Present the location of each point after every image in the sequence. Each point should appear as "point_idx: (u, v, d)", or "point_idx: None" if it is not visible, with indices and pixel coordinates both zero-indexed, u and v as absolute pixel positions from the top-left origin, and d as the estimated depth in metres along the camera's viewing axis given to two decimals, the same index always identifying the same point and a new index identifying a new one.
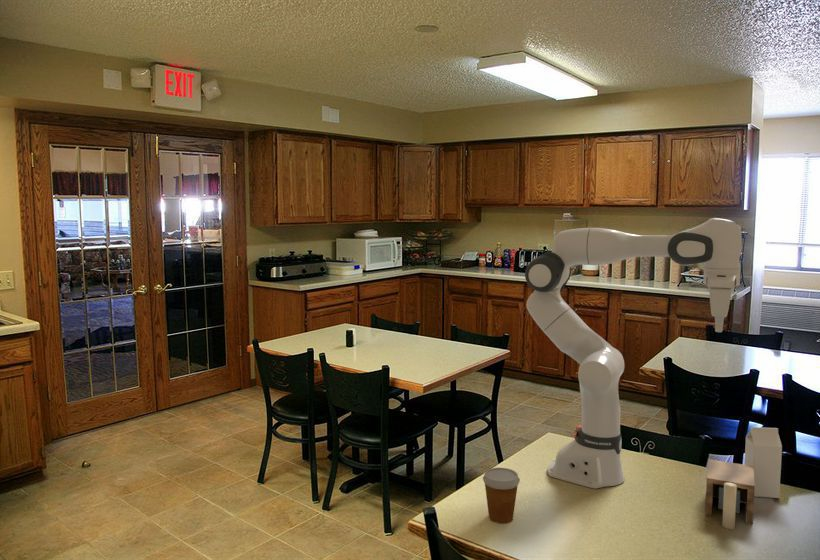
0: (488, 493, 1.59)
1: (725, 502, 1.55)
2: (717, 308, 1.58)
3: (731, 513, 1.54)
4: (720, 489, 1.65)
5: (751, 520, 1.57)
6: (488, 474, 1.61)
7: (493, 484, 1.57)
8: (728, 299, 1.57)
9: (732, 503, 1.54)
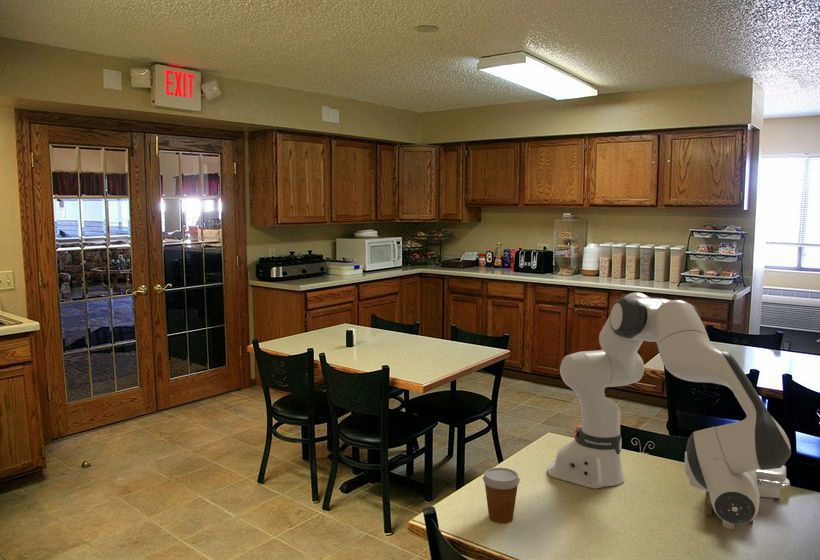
0: (488, 493, 1.59)
1: None
2: None
3: None
4: None
5: (751, 520, 1.57)
6: (488, 474, 1.61)
7: (493, 484, 1.57)
8: None
9: None
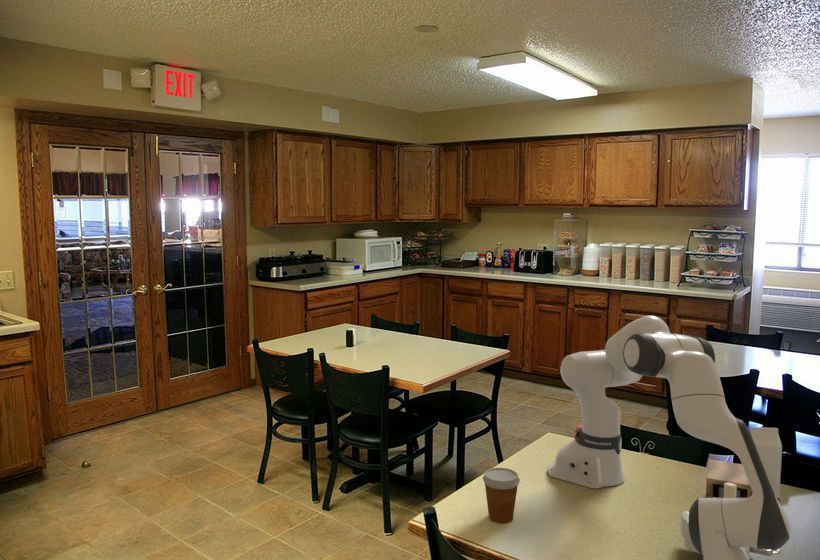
0: (488, 493, 1.59)
1: None
2: None
3: None
4: (720, 489, 1.65)
5: None
6: (488, 474, 1.61)
7: (493, 484, 1.57)
8: (681, 533, 1.46)
9: None
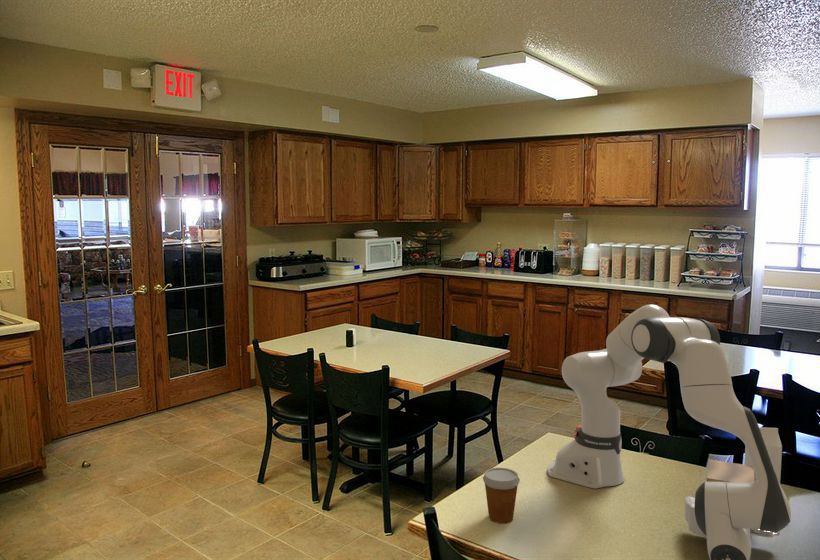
0: (488, 493, 1.59)
1: None
2: None
3: None
4: None
5: None
6: (488, 474, 1.61)
7: (493, 484, 1.57)
8: (685, 517, 1.53)
9: None
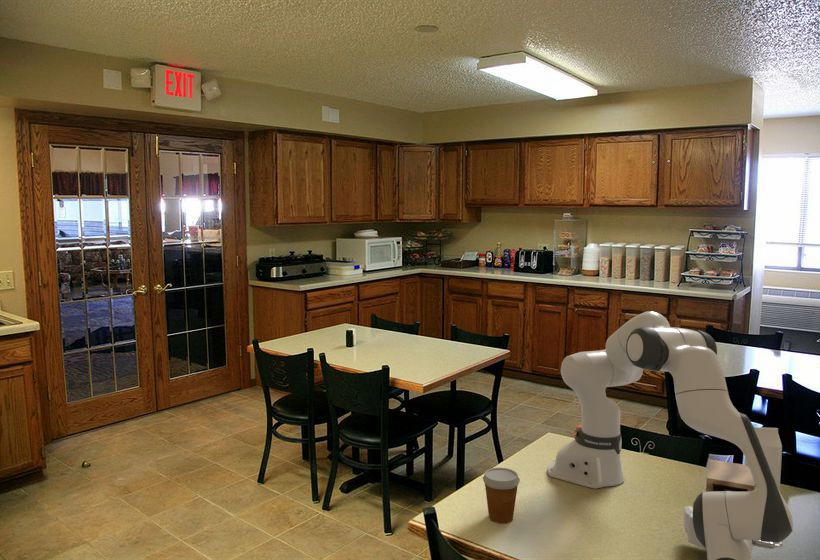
0: (488, 493, 1.59)
1: None
2: None
3: None
4: None
5: None
6: (488, 474, 1.61)
7: (493, 484, 1.57)
8: (684, 527, 1.47)
9: None
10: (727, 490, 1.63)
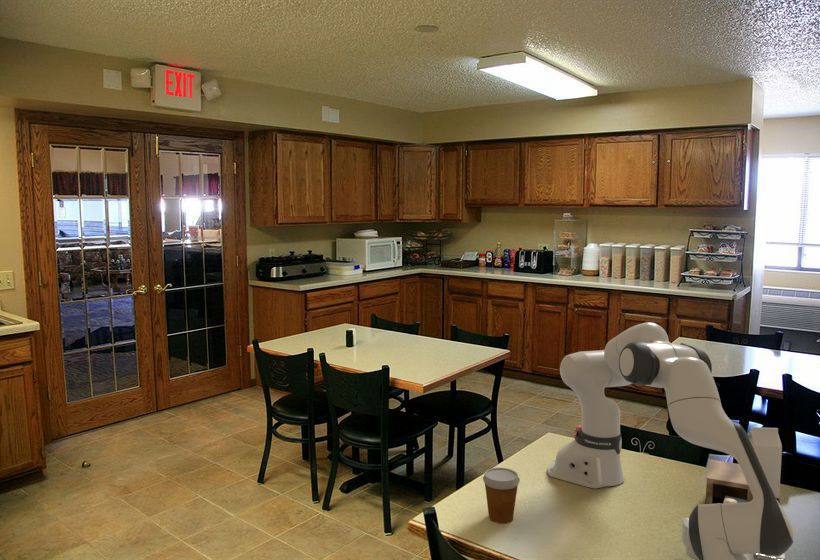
0: (488, 493, 1.59)
1: None
2: (682, 525, 1.43)
3: None
4: None
5: None
6: (488, 474, 1.61)
7: (493, 484, 1.57)
8: (683, 540, 1.41)
9: None
10: (727, 497, 1.59)
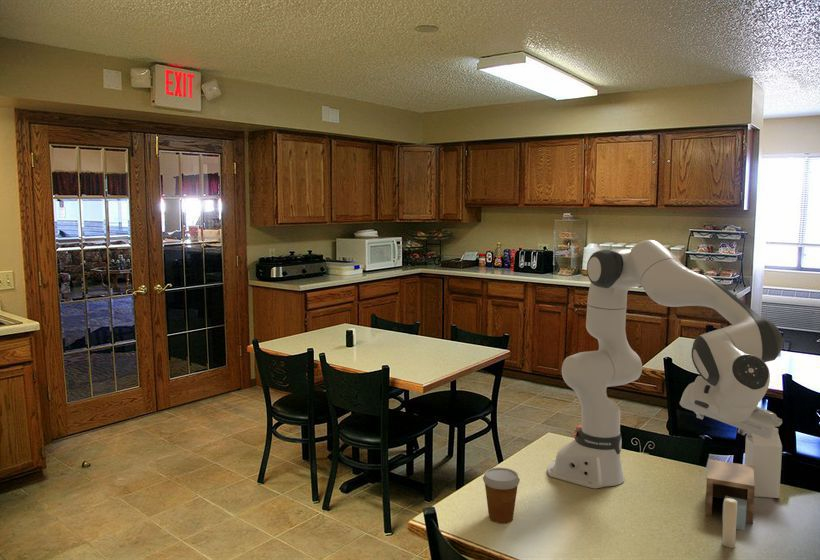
0: (488, 493, 1.59)
1: (724, 519, 1.47)
2: (683, 394, 1.48)
3: (731, 531, 1.46)
4: (724, 505, 1.56)
5: (751, 520, 1.57)
6: (488, 474, 1.61)
7: (493, 484, 1.57)
8: (683, 399, 1.45)
9: (732, 520, 1.46)
10: (727, 497, 1.59)
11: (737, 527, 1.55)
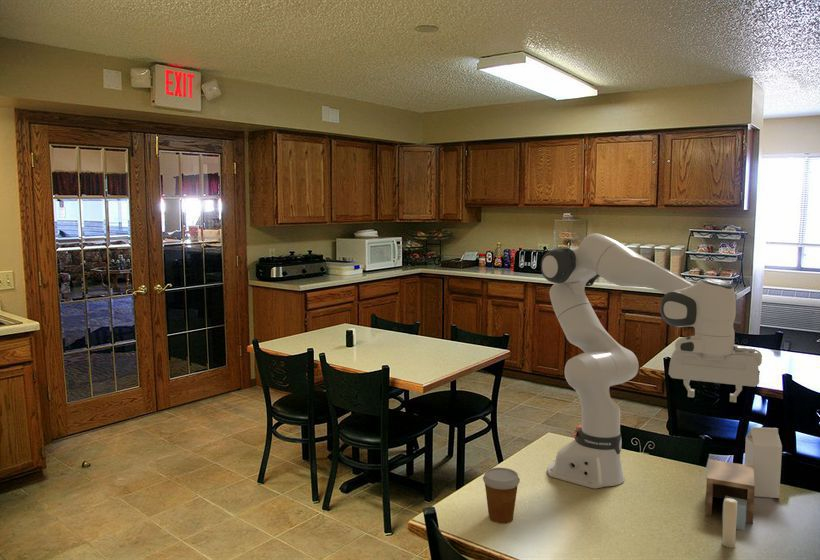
0: (488, 493, 1.59)
1: (724, 519, 1.47)
2: None
3: (731, 531, 1.46)
4: (724, 505, 1.56)
5: (751, 520, 1.57)
6: (488, 474, 1.61)
7: (493, 484, 1.57)
8: (670, 360, 1.55)
9: (732, 520, 1.46)
10: (727, 497, 1.59)
11: (737, 527, 1.55)
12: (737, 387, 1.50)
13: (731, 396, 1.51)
